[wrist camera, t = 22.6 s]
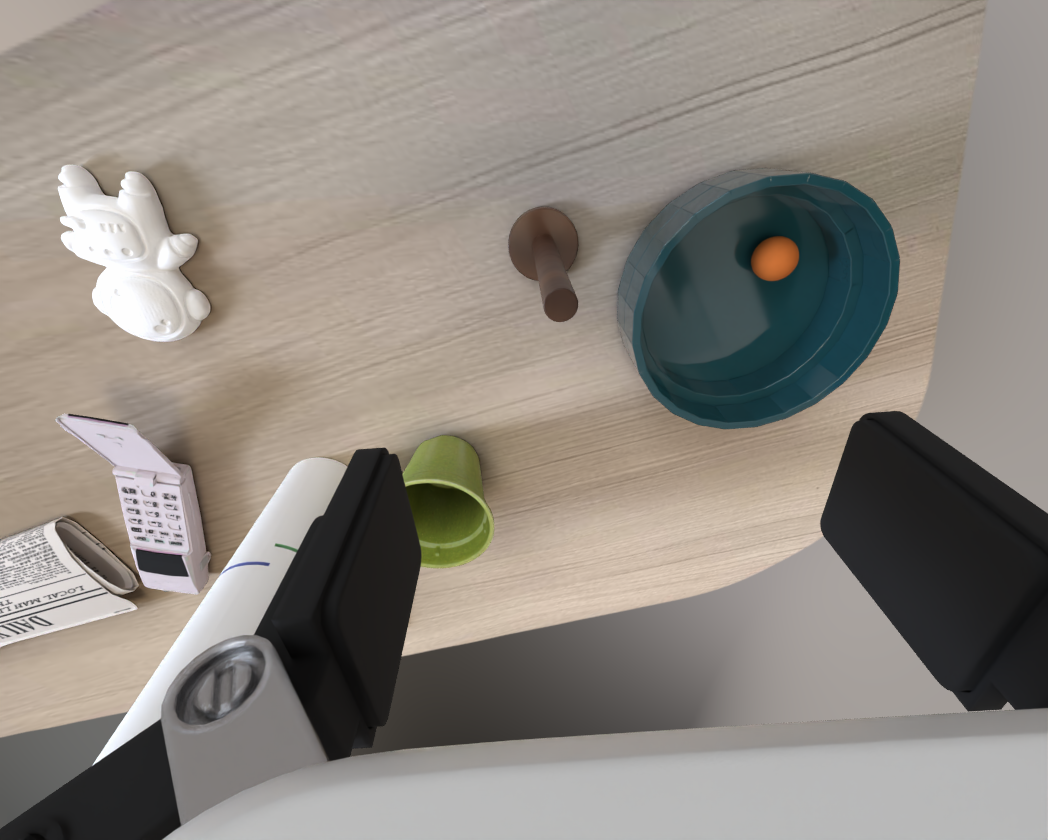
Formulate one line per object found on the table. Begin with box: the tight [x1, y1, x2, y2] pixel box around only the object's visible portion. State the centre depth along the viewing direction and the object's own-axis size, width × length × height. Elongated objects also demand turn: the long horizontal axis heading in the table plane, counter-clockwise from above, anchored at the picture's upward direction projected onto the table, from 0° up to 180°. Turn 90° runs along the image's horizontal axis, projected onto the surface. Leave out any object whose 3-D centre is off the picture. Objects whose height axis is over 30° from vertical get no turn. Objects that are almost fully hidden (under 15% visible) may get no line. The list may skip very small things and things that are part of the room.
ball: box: [751, 236, 799, 281], centre depth 33 cm, size 3×3×3 cm
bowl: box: [617, 168, 900, 429], centre depth 34 cm, size 17×17×6 cm
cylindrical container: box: [92, 457, 348, 766], centre depth 35 cm, size 7×7×25 cm
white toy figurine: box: [58, 165, 210, 342], centre depth 33 cm, size 9×12×3 cm
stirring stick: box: [509, 207, 578, 322], centre depth 28 cm, size 5×5×15 cm
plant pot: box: [402, 435, 494, 568], centre depth 40 cm, size 9×9×9 cm
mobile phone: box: [55, 414, 211, 594], centre depth 43 cm, size 6×6×25 cm
